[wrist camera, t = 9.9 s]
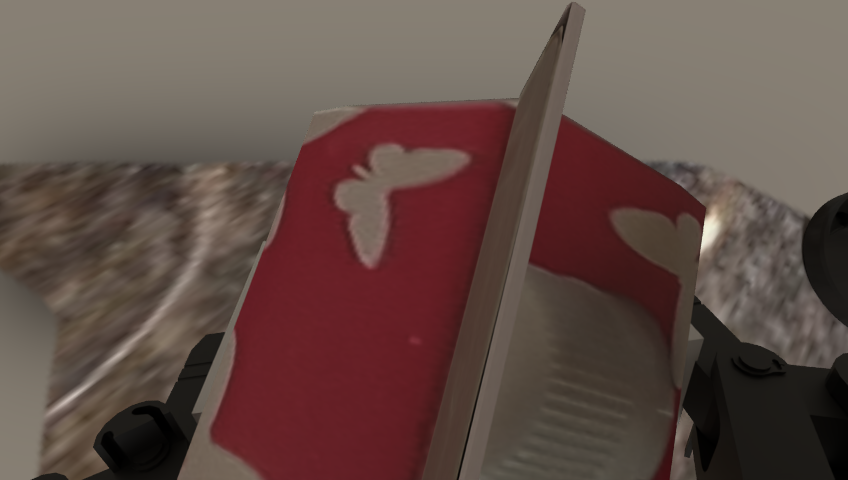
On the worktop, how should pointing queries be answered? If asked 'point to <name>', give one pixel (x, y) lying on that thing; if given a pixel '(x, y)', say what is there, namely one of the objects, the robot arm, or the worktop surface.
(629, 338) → the juice carton
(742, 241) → the worktop surface
